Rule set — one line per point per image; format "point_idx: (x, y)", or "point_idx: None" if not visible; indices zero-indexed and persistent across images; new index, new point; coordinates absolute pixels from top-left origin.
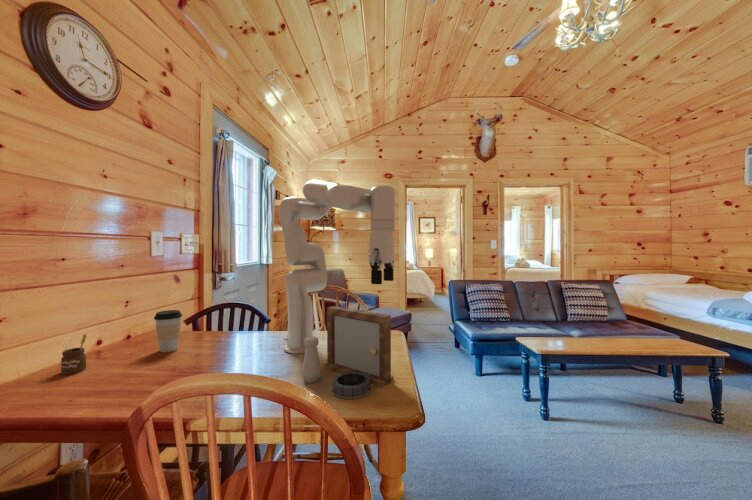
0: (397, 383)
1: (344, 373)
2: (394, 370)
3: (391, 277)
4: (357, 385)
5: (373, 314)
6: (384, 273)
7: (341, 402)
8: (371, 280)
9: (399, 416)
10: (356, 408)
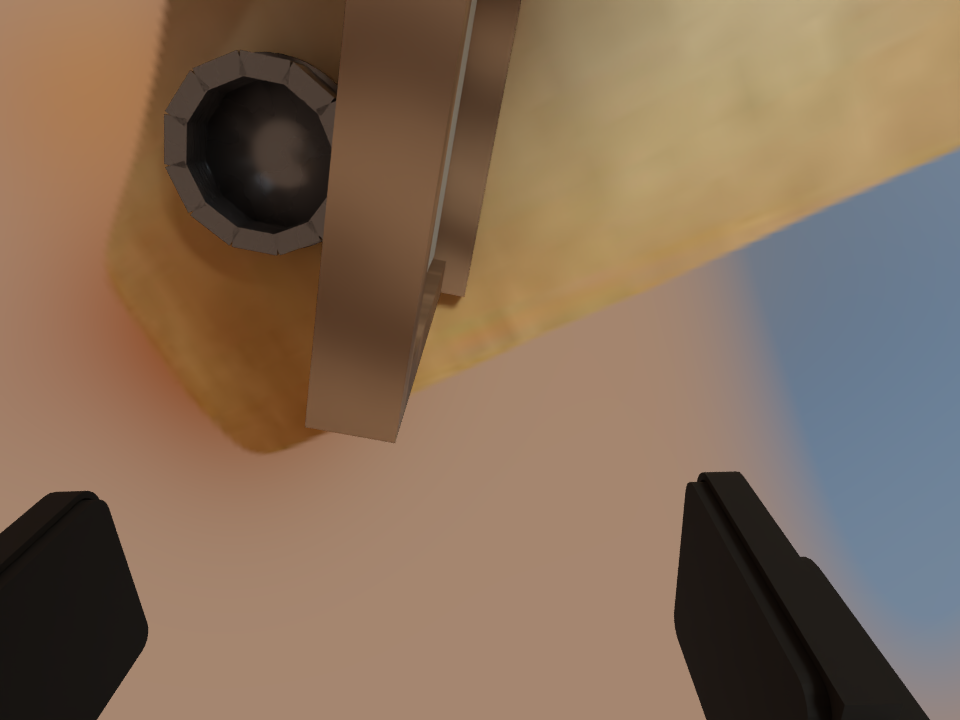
0: (440, 319)
1: (301, 78)
2: (575, 251)
3: (692, 664)
4: (224, 221)
5: (343, 293)
6: (738, 600)
7: (161, 178)
8: (16, 528)
9: (211, 415)
10: (162, 260)
